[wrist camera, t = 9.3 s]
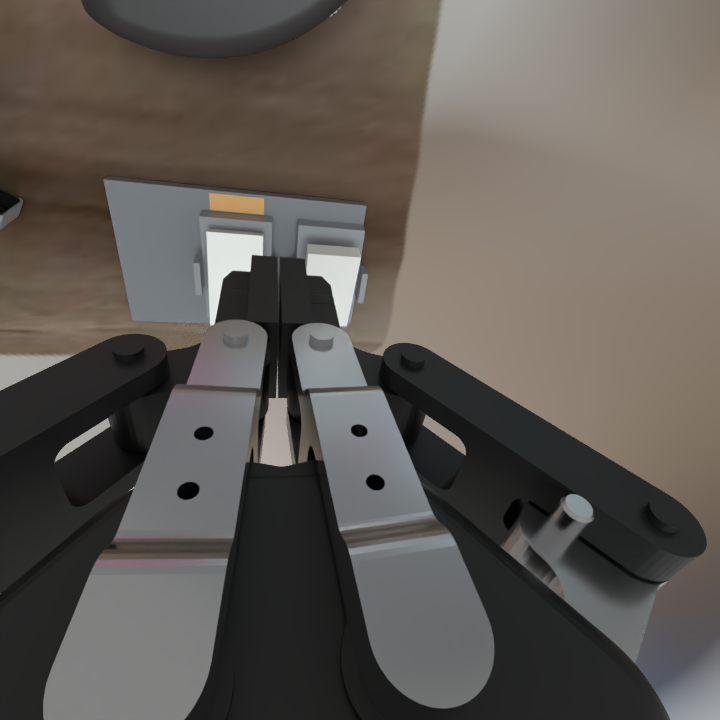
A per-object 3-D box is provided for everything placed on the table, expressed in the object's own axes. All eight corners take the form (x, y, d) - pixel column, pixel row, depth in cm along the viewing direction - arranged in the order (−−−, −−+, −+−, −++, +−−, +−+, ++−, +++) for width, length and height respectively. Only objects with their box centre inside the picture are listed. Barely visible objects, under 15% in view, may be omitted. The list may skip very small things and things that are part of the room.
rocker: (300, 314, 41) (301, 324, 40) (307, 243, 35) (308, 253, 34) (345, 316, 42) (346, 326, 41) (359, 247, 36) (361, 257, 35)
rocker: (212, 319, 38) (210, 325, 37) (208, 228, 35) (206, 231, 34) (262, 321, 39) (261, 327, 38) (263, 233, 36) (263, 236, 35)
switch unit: (135, 315, 42) (123, 339, 38) (107, 175, 34) (89, 192, 31) (349, 323, 46) (355, 346, 43) (368, 202, 38) (377, 219, 35)
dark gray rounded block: (154, 75, 30) (116, 91, 23) (118, -8, 28) (61, -20, 20) (373, 16, 30) (405, 13, 23) (360, -74, 27) (391, -110, 20)
